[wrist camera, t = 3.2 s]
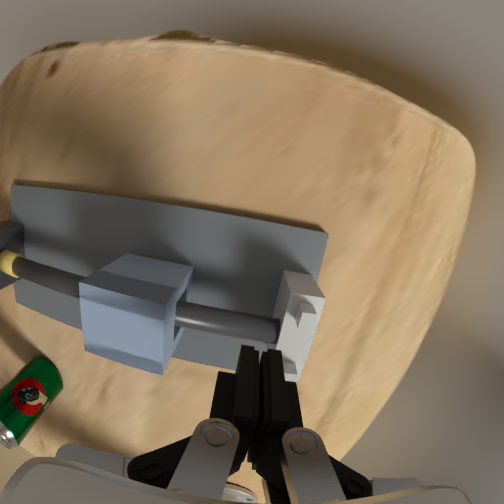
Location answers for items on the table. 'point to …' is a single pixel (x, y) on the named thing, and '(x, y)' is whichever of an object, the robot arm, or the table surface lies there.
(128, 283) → the sleeve
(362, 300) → the table surface
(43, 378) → the soda can
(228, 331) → the linear slide rail
